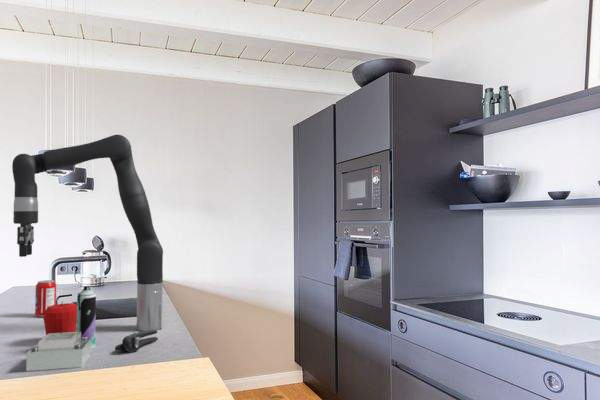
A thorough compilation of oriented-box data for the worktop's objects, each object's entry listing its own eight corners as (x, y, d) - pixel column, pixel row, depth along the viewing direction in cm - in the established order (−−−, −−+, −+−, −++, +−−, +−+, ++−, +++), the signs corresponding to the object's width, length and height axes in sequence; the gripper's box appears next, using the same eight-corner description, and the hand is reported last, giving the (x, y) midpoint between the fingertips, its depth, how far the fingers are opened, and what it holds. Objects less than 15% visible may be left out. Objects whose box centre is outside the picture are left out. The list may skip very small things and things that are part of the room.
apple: (72, 335, 160) (73, 297, 160) (82, 341, 152) (83, 301, 153) (39, 341, 152) (40, 301, 153) (48, 347, 145) (49, 305, 146)
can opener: (130, 356, 136) (130, 337, 136) (112, 354, 138) (112, 335, 139) (165, 341, 153) (165, 324, 153) (148, 339, 155) (148, 323, 156)
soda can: (49, 318, 188) (49, 282, 189) (30, 317, 188) (31, 282, 189) (59, 314, 196) (60, 279, 197) (41, 314, 196) (42, 279, 197)
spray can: (87, 350, 141) (88, 287, 142) (72, 349, 142) (73, 286, 143) (98, 346, 146) (99, 284, 147) (83, 345, 147) (85, 284, 148)
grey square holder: (90, 354, 137) (91, 329, 137) (81, 367, 126) (82, 340, 126) (40, 358, 134) (40, 332, 134) (26, 371, 122) (26, 343, 122)
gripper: (34, 209, 154) (33, 256, 153) (41, 210, 167) (41, 253, 166) (8, 210, 151) (8, 257, 151) (18, 210, 164) (18, 254, 164)
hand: (25, 255), depth 159 cm, fingers open, 8 cm apart
